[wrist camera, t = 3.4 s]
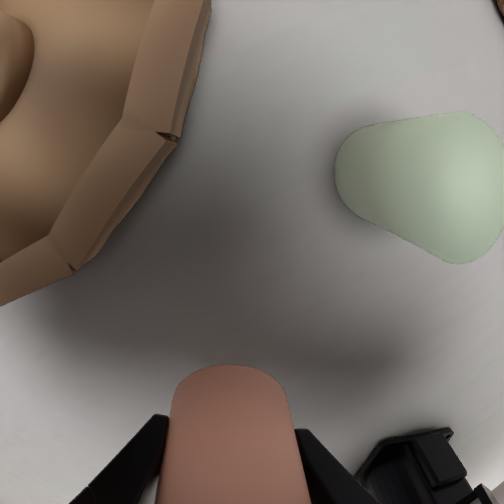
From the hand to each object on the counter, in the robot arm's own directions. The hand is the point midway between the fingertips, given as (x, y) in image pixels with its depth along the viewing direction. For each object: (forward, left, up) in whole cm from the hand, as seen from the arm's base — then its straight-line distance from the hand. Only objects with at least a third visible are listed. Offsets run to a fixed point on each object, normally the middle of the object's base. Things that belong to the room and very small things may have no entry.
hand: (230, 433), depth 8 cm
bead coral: (0, 0, -1) cm, 1 cm away
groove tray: (+10, +12, -4) cm, 16 cm away
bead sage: (+8, -4, -4) cm, 10 cm away
